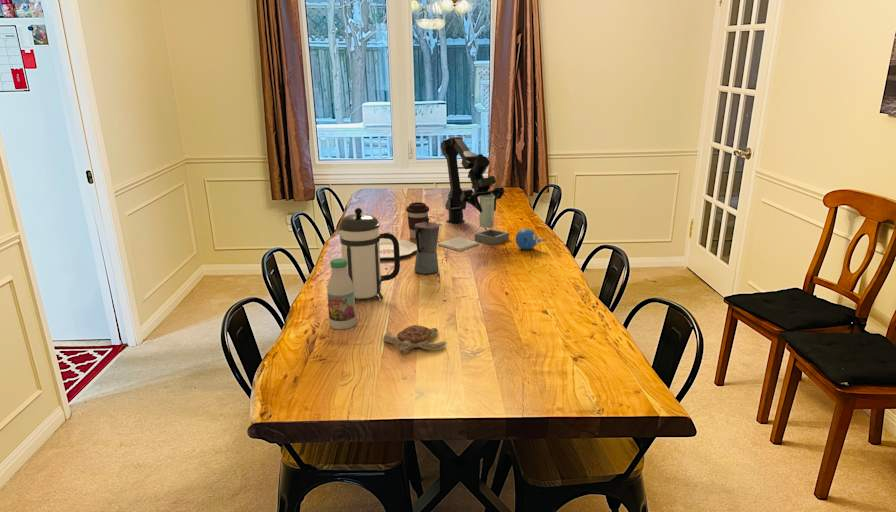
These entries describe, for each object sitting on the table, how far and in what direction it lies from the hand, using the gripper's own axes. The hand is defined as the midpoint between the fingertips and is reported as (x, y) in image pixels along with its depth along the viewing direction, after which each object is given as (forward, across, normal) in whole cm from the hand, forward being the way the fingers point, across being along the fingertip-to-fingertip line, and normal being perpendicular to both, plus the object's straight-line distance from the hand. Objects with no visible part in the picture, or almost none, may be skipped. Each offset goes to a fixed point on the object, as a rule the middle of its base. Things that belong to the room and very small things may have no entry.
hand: (488, 211), depth 244 cm
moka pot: (+27, -36, -8) cm, 46 cm away
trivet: (+9, -13, +10) cm, 19 cm away
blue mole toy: (+21, +12, -2) cm, 24 cm away
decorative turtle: (+64, -58, -46) cm, 98 cm away
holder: (+8, +3, +11) cm, 14 cm away
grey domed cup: (+4, 0, +5) cm, 7 cm away
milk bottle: (+51, -74, -32) cm, 96 cm away
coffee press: (+38, -62, -19) cm, 75 cm away
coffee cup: (-3, -25, +23) cm, 34 cm away
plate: (+7, -44, +13) cm, 46 cm away
